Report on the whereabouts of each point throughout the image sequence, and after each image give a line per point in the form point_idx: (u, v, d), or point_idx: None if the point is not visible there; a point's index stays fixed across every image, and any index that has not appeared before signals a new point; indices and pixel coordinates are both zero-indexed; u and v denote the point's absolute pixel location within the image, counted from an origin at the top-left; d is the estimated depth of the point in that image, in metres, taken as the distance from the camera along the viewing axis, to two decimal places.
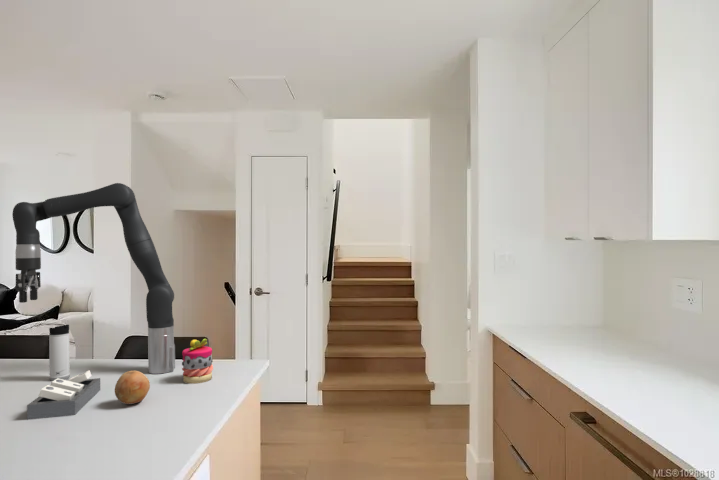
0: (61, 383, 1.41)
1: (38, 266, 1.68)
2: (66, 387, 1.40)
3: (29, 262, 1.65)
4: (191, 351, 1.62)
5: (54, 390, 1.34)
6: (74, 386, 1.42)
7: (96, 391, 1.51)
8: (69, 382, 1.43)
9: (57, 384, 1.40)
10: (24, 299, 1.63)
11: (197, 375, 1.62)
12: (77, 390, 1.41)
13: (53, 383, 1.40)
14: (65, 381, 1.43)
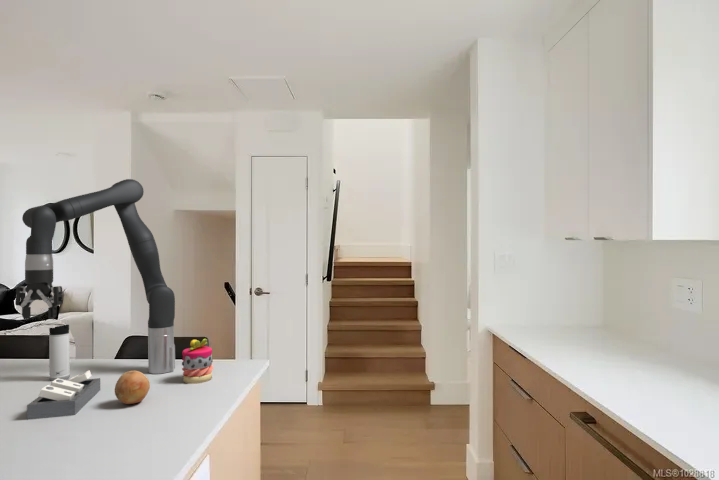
0: (61, 383, 1.41)
1: None
2: (66, 387, 1.40)
3: (52, 274, 1.50)
4: (191, 351, 1.62)
5: (54, 390, 1.34)
6: (74, 386, 1.42)
7: (96, 391, 1.51)
8: (69, 382, 1.43)
9: (57, 384, 1.40)
10: None
11: (197, 375, 1.62)
12: (77, 390, 1.41)
13: (53, 383, 1.40)
14: (65, 381, 1.43)
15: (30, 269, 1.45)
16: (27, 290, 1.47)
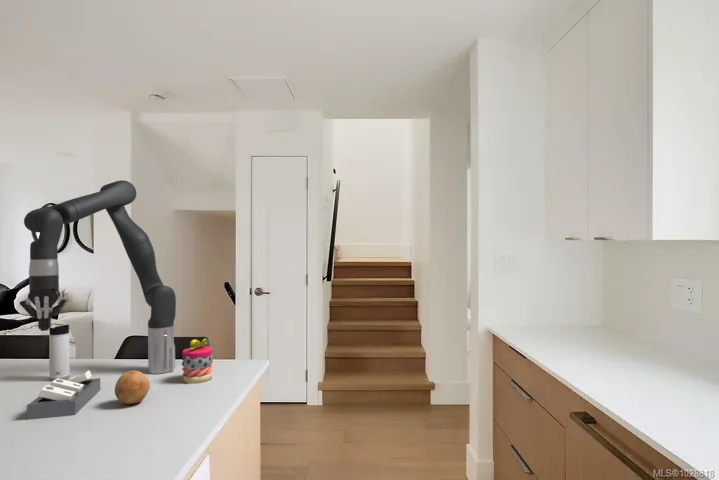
0: (61, 383, 1.41)
1: None
2: (66, 387, 1.40)
3: None
4: (191, 351, 1.62)
5: (54, 390, 1.34)
6: (74, 386, 1.42)
7: (96, 391, 1.51)
8: (69, 382, 1.43)
9: (57, 384, 1.40)
10: None
11: (197, 375, 1.62)
12: (77, 390, 1.41)
13: (53, 383, 1.40)
14: (65, 381, 1.43)
15: (39, 275, 1.38)
16: (31, 297, 1.40)
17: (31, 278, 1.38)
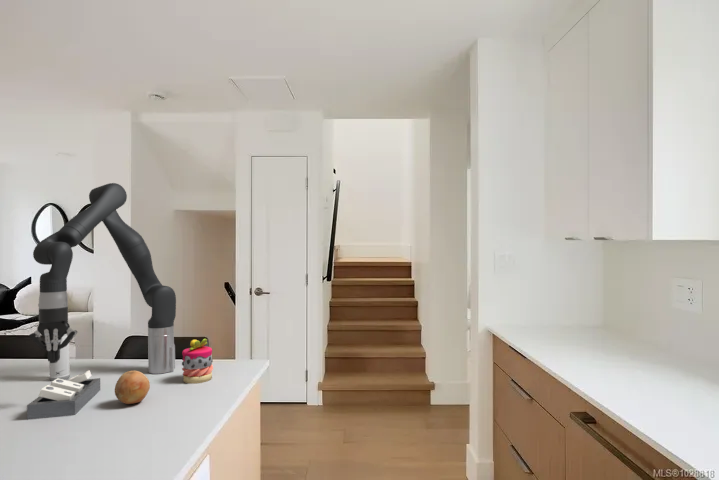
0: (61, 383, 1.41)
1: None
2: (66, 387, 1.40)
3: None
4: (191, 351, 1.62)
5: (54, 390, 1.34)
6: (74, 386, 1.42)
7: (96, 391, 1.51)
8: (69, 382, 1.43)
9: (57, 384, 1.40)
10: None
11: (197, 375, 1.62)
12: (77, 390, 1.41)
13: (53, 383, 1.40)
14: (65, 381, 1.43)
15: (48, 308, 1.38)
16: (40, 330, 1.40)
17: (41, 311, 1.39)
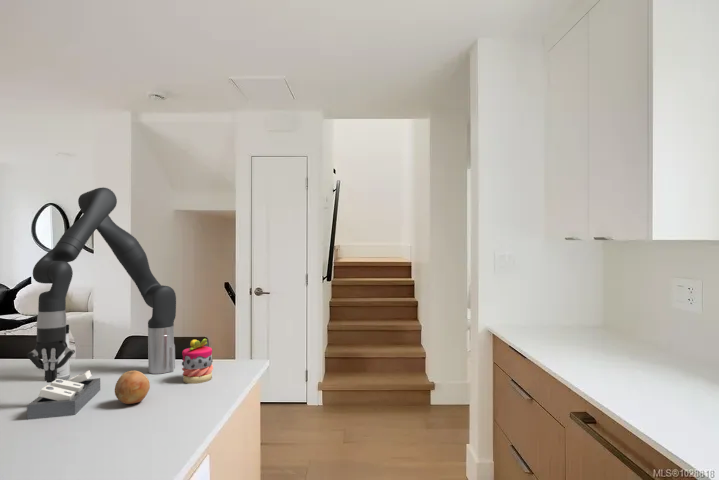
0: (61, 383, 1.41)
1: None
2: (66, 387, 1.40)
3: None
4: (191, 351, 1.62)
5: (54, 390, 1.34)
6: (74, 386, 1.42)
7: (96, 391, 1.51)
8: (69, 382, 1.43)
9: (57, 384, 1.40)
10: None
11: (197, 375, 1.62)
12: (77, 390, 1.41)
13: (53, 383, 1.40)
14: (65, 381, 1.43)
15: (46, 327, 1.38)
16: (38, 349, 1.40)
17: (39, 330, 1.38)
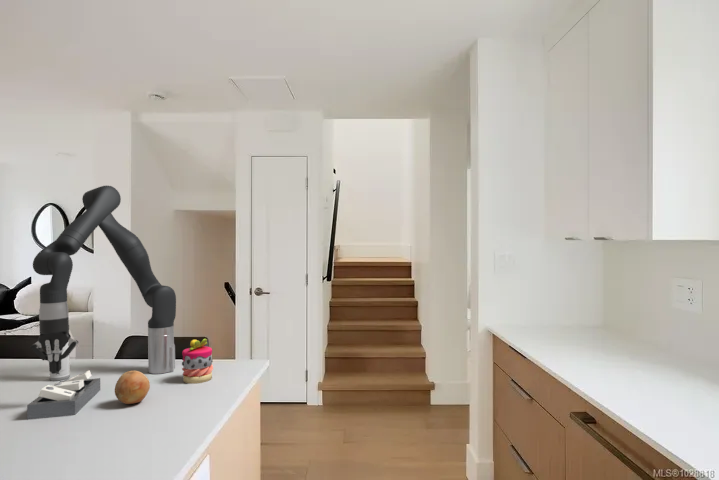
0: (59, 385, 1.41)
1: None
2: (65, 386, 1.40)
3: None
4: (191, 351, 1.62)
5: (54, 390, 1.34)
6: (73, 383, 1.42)
7: (96, 391, 1.51)
8: (68, 382, 1.43)
9: None
10: None
11: (197, 375, 1.62)
12: (77, 385, 1.41)
13: None
14: (63, 383, 1.43)
15: (49, 319, 1.38)
16: (41, 340, 1.40)
17: (41, 322, 1.38)
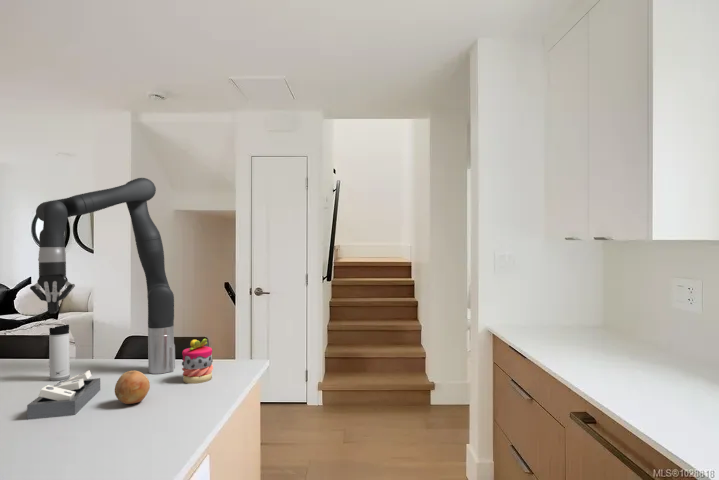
0: (59, 385, 1.41)
1: None
2: (65, 386, 1.40)
3: None
4: (191, 351, 1.62)
5: (54, 390, 1.34)
6: (73, 382, 1.42)
7: (96, 391, 1.51)
8: (67, 382, 1.43)
9: None
10: None
11: (197, 375, 1.62)
12: (77, 384, 1.41)
13: None
14: (63, 383, 1.43)
15: (48, 261, 1.49)
16: (40, 282, 1.50)
17: (40, 264, 1.49)
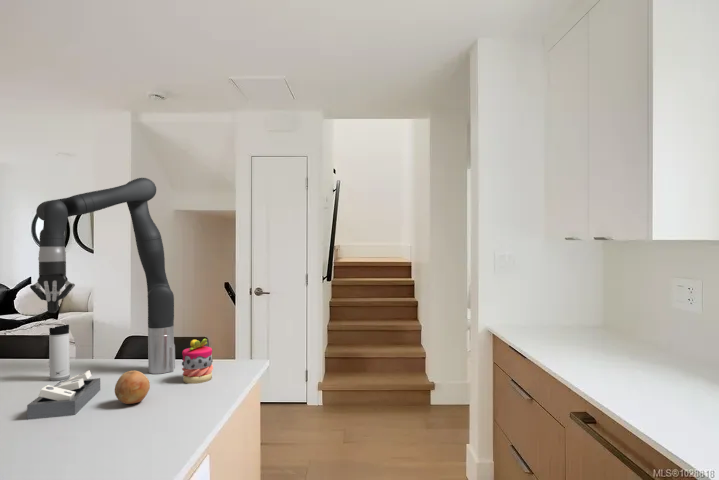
0: (59, 386, 1.41)
1: None
2: (65, 386, 1.40)
3: None
4: (191, 351, 1.62)
5: (54, 390, 1.34)
6: (72, 382, 1.42)
7: (96, 391, 1.51)
8: (67, 382, 1.43)
9: None
10: None
11: (197, 375, 1.62)
12: (77, 384, 1.41)
13: None
14: (63, 383, 1.43)
15: (48, 261, 1.49)
16: (40, 281, 1.51)
17: (40, 264, 1.49)
